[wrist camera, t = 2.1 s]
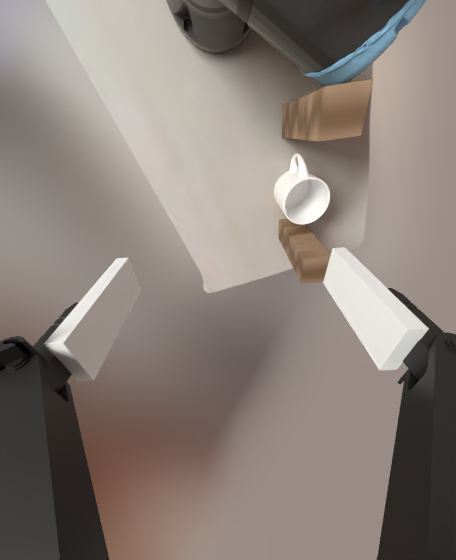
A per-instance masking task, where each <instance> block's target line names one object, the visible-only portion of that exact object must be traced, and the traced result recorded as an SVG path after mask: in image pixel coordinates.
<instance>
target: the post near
mask: <svg viewBox="0 0 456 560" xmlns="http://www.w3.org/2000/svg"><path fill="white" fill-rule="evenodd" d="M372 83H373V79H369V80H363V81H356V82H350V83H344V84H337V85H331V86H325V87H323V88H321V89H318V90H316V91H314V92H312V93H310V94H307V95H305V96H303V97H301V98H298V99H296V100H294V101H292V102H289V103H287V104H285V105H283V122H282V138H291V139H300V140H309V141H326V140H334V139H341V138H348V137H355V136H361V134H362V129H363V125H364V120H365V115H366V111H367V106H368V101H369V97H370V92H371V87H372Z"/></svg>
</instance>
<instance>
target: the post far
mask: <svg viewBox="0 0 456 560" xmlns="http://www.w3.org/2000/svg"><path fill="white" fill-rule="evenodd" d="M279 239H280V241H281V244H282V246H283V248H284V250H285V252H286V254H287V256H288V258H289V260H290V262H291V264H292V266H293V268H294V270H295V272H296V274H297V276H298V278H299V280H300V282H301V284H303V283H314V282H323V281H324V277H325V274H326V270H327V267H328V263H329V259H330V256H331V254H330V253H329V251H328V250H327V249H326V248H325V247H324V245H323V244H322V243H321V242H320V241H319V240H318V238H317V237H316V236H315V235H314V234H313V232H312V231H311V230H310V229H309V228H308V227H307V225H306V224H304V225H300V224H295V223H293V222H291V221H290V220H289V219H281V220H279Z"/></svg>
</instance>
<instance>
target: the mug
mask: <svg viewBox="0 0 456 560" xmlns="http://www.w3.org/2000/svg"><path fill="white" fill-rule="evenodd" d="M297 158H298V164H297ZM274 197H275V200H276V202H277V204H278V205H279V207H280V208H281V210H282V211H283V213H284V214H285V215H286V217H287V218H288V219H289V220H290V221H291V222H293V223H295V224H300V225H304V224H309V223H312V222H314V221H315V220H317V219H318V218H320V217H321V216H322V215H323V213H324V212H325V211H326V209H327V207H328V205H329V202H330V190H329V188H328V186H327V184H326V183H325V182H324V181H323V180H321V179H319V178H317V177H315V176H313V175H311V174H309V173H308V170H307V167H306V164H305V161H304V159H303V158H302V156H301V155H300V154H298V153H296V154H295V155H294V156H293V157H292V160H291V164H290V170H289V171H287V172H286V173H284V174H283V175H282V176H281V177H280V178H279V179H278V181H277V183H276V185H275V188H274Z"/></svg>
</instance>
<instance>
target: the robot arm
mask: <svg viewBox="0 0 456 560" xmlns="http://www.w3.org/2000/svg"><path fill="white" fill-rule="evenodd" d="M425 1H426V0H167V3H168V6H169V8H170V11H171V13H172V15H173V17H174V19H175V21H176V23H177V25H178V27H179V28H180V30H181V31H182V33H183V34H184V35H185V36H186V38H187V39H188V40H189V41H190V42H191V43H192V44H194V45H195V46H196V47H198V48H200V49H201V50H204V51H206V52H210V53H223V52H227V51H229V50H232V49H233V48H235V47H236V46H238V45H239V44H240V43H241V42H242V41H243V40H244V39H245V38H246V37H247V36H248V34H249V33H250V31H251V30H252V29H253V30H254V31H255V32H256V33H258V34H259V35H260V36H261V37H262V38H263V39H265V40H266V41H267V42H268V43H269V44H271V45H272V46H273V47H274V48H275V49H276V50H278V51H279V52H280V53H281V54H282V55H284V56H285V57H286V58H287V59H288V60H289V61H291V62H292V63H293V64H294V65H295V66H297V67H298V68H299V69H300V71H301V72H302V74H304V75H306V76H307V77H312V78H313V79H314V80H316V81H317V82H319V83H320V84H321V85H323V86H331V85H337V84H344V83H346V82H348V81H350V80H351V79H353V78H354V77H356V76H357V75H358V74H360V73H361V72H362V71H364V70H365V69H366V68H367V67H368V66H369V65H371V64H372V63H373V62H374V61H375V60H376V59H377V58H378V57H379V56H380V55H381V54H382V53H383V52H384V51H385V50H386V49H387V48H388V47H389V46H390V45H391V44H392V43H393V41H394V40H395V39H396V36H397V34H398V32H399V31H400V30H401V29H402V28H403V27H404V26H406V25H407V24H408V23H409V22H410V21H411V20H412V19H413V17H414V16H415V15H416V14H417V12H418V11H419V10H420V8H421V7H422V6H423V4H424V3H425ZM323 283H324V285H325V286H326V288H327V289H328V291H329V293H330V294H331V296H332V297H333V299H334V300H335V302H336V304H337V305H338V307H339V308H340V310H341V311H342V313H343V314H344V316H345V318H346V319H347V320H348V322H349V323H350V325H351V327H352V328H353V330H354V331H355V333H356V335H357V336H358V337H359V339H360V341H361V342H362V344H363V345H364V347H365V348H366V350H367V352H368V353H369V355H370V356H371V358H372V359H373V361H374V362H375V364H376V365H377V367H378V369H379V370H397V369H398V367H399V366H400V365H401V364H402V362H404V363H405V365H406V366H407V367H408V368H409V369H408V370H407V371H406V372H405V374H404V375H403V376H402V377H401V378H400V380H399V381H398V383H399V384H401V383H402V382H403V381H404V385H403V392H402V399H401V405H400V412H399V418H398V426H397V432H396V438H395V445H394V452H393V458H392V465H391V471H390V478H389V485H388V491H387V498H386V504H385V511H384V518H383V525H382V531H381V537H380V544H379V551H378V556H377V560H456V334H452V333H444V332H443V331H442V330H441V329H440V328H439V327H438V326H437V325H436V324H434V323H433V322H432V321H431V320H430V319H429V318H428V317H427V316H426V315H425V314H424V313H423V312H421V311H420V310H419V309H417V307H416V306H415V305H414V304H413V303H411V302H410V301H409V300H408V299H407V298H406V297H405V296H404V295H403V294H401V293H399V292H397V291H396V290H394V289H392V288H386V287H385V286H384V285H383V284H382V283H381V282H380V281H379V280H378V279H377V278H376V277H375V276H374V275H373V274H372V273H371V272H370V271H368V269H367V268H366V267H365V266H363V265H362V264H361V263H360V262H359V261H358V260H357V259H356V258H355V257H354V256H353V255H352V254H351V253H350V252H349V251H348V250H347V249H346V248H345V247H343V248H333V249H332V252H331V256H330V259H329V263H328V267H327V270H326V274H325V277H324V281H323ZM140 292H141V289H140V287H139V284H138V281H137V279H136V276H135V273H134V271H133V268H132V265H131V263H130V260H129V258H117V259H116V260H115V261H114V262H113V264H112V265H111V266H110V267H109V268H108V269H107V271H106V272H105V273H104V274H103V275H102V276H101V278H100V279H99V280H98V281H97V282H96V283H95V285H94V286H93V287H92V288H91V289H90V290H89V292H88V293H87V294H86V295H85V296H84V297H83V299H82V300H81V301H80V302H79V303H75V304H73V305H72V306H70V307H69V308H68V309H66V310H65V311H64V312H63V314H62V315H61V316H60V317H59V319H57V320H56V321H55V323H54V325H52V326H51V327H50V328H49V329H48V330H47V332H46V333H45V334H44V335H43V336H42V337H41V338H40V339H39V340H38V342H37V343H36V344H35V345H34V346H33V347H32V346H31V345H30V344H29V343H28V342H27V341H26V340H25V339H24V338H23V337H20V336H16V337H10V338H7V339H4V340H2V341H0V560H109V556H108V552H107V548H106V543H105V539H104V535H103V530H102V525H101V521H100V517H99V512H98V508H97V503H96V499H95V495H94V490H93V486H92V481H91V477H90V472H89V468H88V464H87V459H86V455H85V450H84V446H83V442H82V437H81V432H80V429H79V424H78V419H77V415H76V410H75V406H74V402H73V397H72V393H71V388H70V385H69V384H68V382H67V380H68V379H69V377H70V375H72V376H73V377H74V378H75V379H76V380H77V381H94V379H95V377H96V375H97V373H98V372H99V370H100V368H101V366H102V364H103V362H104V360H105V358H106V356H107V355H108V353H109V351H110V349H111V347H112V345H113V343H114V341H115V339H116V337H117V336H118V334H119V332H120V330H121V328H122V326H123V324H124V322H125V321H126V319H127V317H128V315H129V313H130V311H131V309H132V307H133V305H134V303H135V302H136V300H137V298H138V296H139V294H140Z"/></svg>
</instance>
